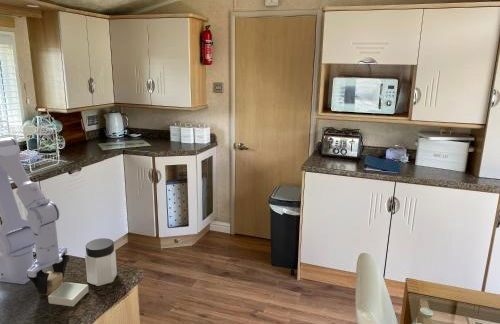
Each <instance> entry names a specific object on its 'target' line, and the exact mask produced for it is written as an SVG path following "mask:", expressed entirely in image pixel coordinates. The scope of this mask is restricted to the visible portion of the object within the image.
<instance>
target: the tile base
mask: <svg viewBox="0 0 500 324" xmlns="http://www.w3.org/2000/svg"><path fill="white" fill-rule="evenodd" d="M88 293H89V284H86V283H85V284H84V283H75V282H67V281H63V284H62V285H61V286H60V287H59V288H57V289H56V290H55V291H54V292H53V293H51V294H50V295H47V299H48V304H51V305H52V304H53V305H60V306H67V307H75V305H76V304H78V302H79V301H80V300H82V299H83V297H85V295H86V294H88Z"/></svg>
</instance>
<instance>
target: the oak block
mask: <svg viewBox="0 0 500 324" xmlns="http://www.w3.org/2000/svg"><path fill="white" fill-rule="evenodd" d="M46 273H49V276H48V279H47V293H46V294H45V295H44V294H42V295H44V296H49V295H50V294H51V293H53V292H54V291H55V290H56V289H57V288H59V287H60V286H61V285H62V284H63V283H64V278H63V276H62V273H60V272H54V271H50V270H49V271H47V272H46Z"/></svg>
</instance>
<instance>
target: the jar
mask: <svg viewBox="0 0 500 324" xmlns="http://www.w3.org/2000/svg"><path fill="white" fill-rule="evenodd" d="M116 253H117V252H116V248H115V243H114V240H113V239H110V238H105V237H104V238H101V237H100V238H96V239H93V240H90V241H89V242H87V243H86V245H85V255H84V259H85V270H86V273H85V274H86V282H87V283H89V284H91V285H93V286H94V285H95V286H96V287H99V286H103V285H107V284H111V283H113V282H114V281H115V279H116V277H117V275H118V271H117V255H116Z"/></svg>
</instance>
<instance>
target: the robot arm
mask: <svg viewBox="0 0 500 324" xmlns="http://www.w3.org/2000/svg"><path fill="white" fill-rule="evenodd" d="M20 155H21V149H20V146H19V142H18V141H17V140H16V139H15V138H14V136H13V137H12V136H7V137H3V138H0V220H1V222H2V224H1V225H0V282H2V283H10V284H11V283H12V284H20V285H25V284H27V283H28V282H30V281H31V282H32V283H33V285H34V286H35V288H36V290H37V293H38V294H40V295H43V294H44V296H46V295H45V294H46V293H47V279H48V276H49V273H47V272H45V271H44V269H45V268H48V267H50V266H52V269H53V272H60V273H62V276H63V279H65V272H66V267H67V265H68V262H69V260H70V256H69V255H68V247H66V246H61V247H59V242H58V241H59V240H58V232H57V225H56V221H58V220H59V218H60V211H59V208H58V206H57V204H56V203H55V202H53V201H52V200H50V198H47V197H46V196H45V194H44V192H43V190H42V189H41V188H40V186H39V185H38V183H37V182H36V181H32V180H31V179H30V177H29V175H28V174H27V172H26V169H25V167H24V165H23V163H22V161H21V159H20ZM9 177H10V179H11V180H12V182H13V183H14V184H15V185H16V187H17V190H16V192H15V194H16V195H17V196H18V198H19V200H20V201H21V203H22V205H23V207H24V209H25V210H26V212H27V213H26V214H27V215H26V219H27V220H26V219H24V218H22V215H21V213H20V210H19V207H18V204H17V200H16V197H15V194H14V190H13V188H12V185H11V182H10V179H9ZM34 249H35V254H36V255H35V256H36V260H35V258H34V251H33V250H34Z"/></svg>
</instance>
